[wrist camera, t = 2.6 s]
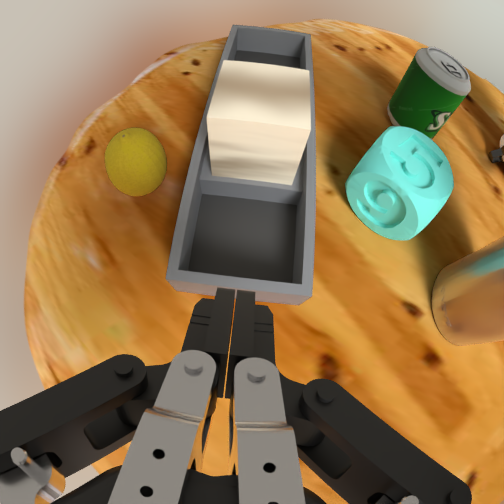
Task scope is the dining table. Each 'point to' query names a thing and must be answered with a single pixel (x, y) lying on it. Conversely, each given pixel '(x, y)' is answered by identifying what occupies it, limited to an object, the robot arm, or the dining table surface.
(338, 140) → the dining table surface
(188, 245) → the tray
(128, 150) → the lemon
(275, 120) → the ash block
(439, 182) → the decorative dice
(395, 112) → the soda can
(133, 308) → the dining table surface
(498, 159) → the coffee press
